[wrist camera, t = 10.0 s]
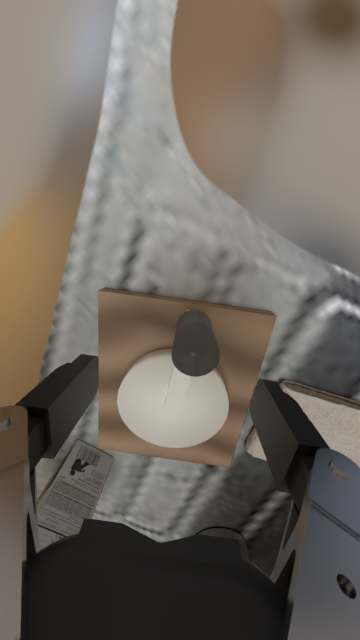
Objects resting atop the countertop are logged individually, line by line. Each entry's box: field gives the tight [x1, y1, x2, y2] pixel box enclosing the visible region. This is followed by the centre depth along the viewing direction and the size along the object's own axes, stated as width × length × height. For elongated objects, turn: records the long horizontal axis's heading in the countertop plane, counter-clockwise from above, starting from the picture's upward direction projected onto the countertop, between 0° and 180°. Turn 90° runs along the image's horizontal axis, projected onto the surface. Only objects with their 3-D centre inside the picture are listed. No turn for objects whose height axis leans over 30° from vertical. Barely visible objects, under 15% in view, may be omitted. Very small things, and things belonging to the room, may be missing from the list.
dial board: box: [98, 288, 277, 467], centre depth 25 cm, size 22×18×2 cm
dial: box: [117, 310, 229, 448], centre depth 19 cm, size 18×12×8 cm
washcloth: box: [245, 380, 360, 467], centre depth 26 cm, size 12×18×3 cm, turn 73°
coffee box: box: [37, 440, 113, 550], centre depth 24 cm, size 9×6×16 cm
